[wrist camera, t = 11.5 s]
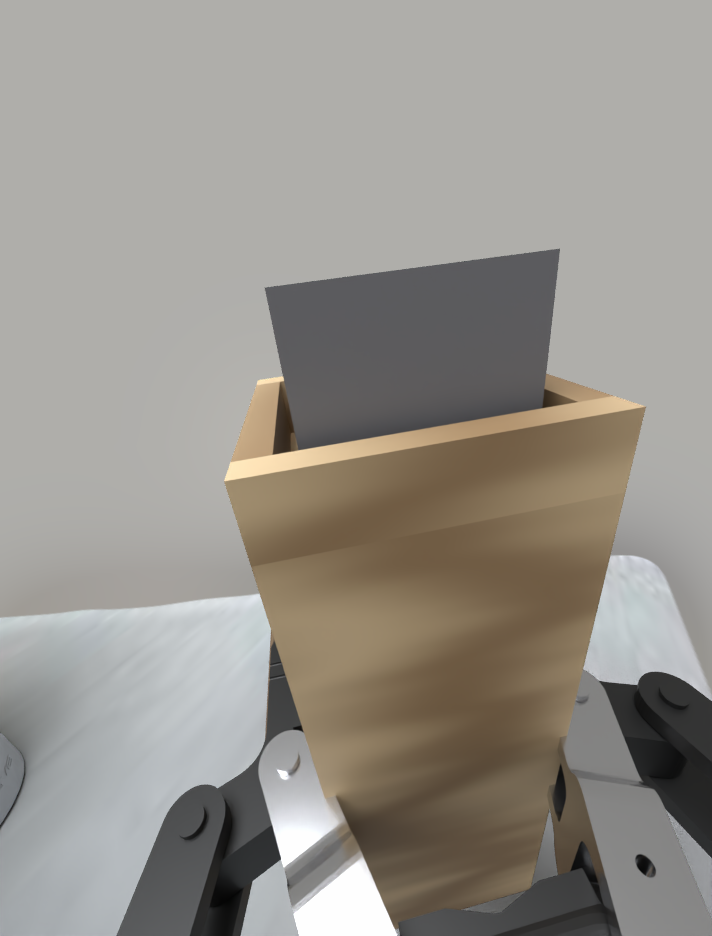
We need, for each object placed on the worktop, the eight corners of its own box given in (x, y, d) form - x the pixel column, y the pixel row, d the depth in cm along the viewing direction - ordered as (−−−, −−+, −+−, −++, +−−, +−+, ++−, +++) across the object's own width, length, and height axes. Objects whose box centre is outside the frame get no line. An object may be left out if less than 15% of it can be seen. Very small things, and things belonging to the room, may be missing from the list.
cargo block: (312, 518, 5) (264, 288, 4) (303, 435, 8) (275, 288, 7) (534, 475, 6) (559, 249, 4) (449, 410, 9) (448, 265, 7)
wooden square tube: (368, 937, 11) (223, 480, 4) (345, 748, 15) (258, 380, 8) (530, 889, 11) (645, 407, 4) (461, 718, 16) (468, 347, 9)
